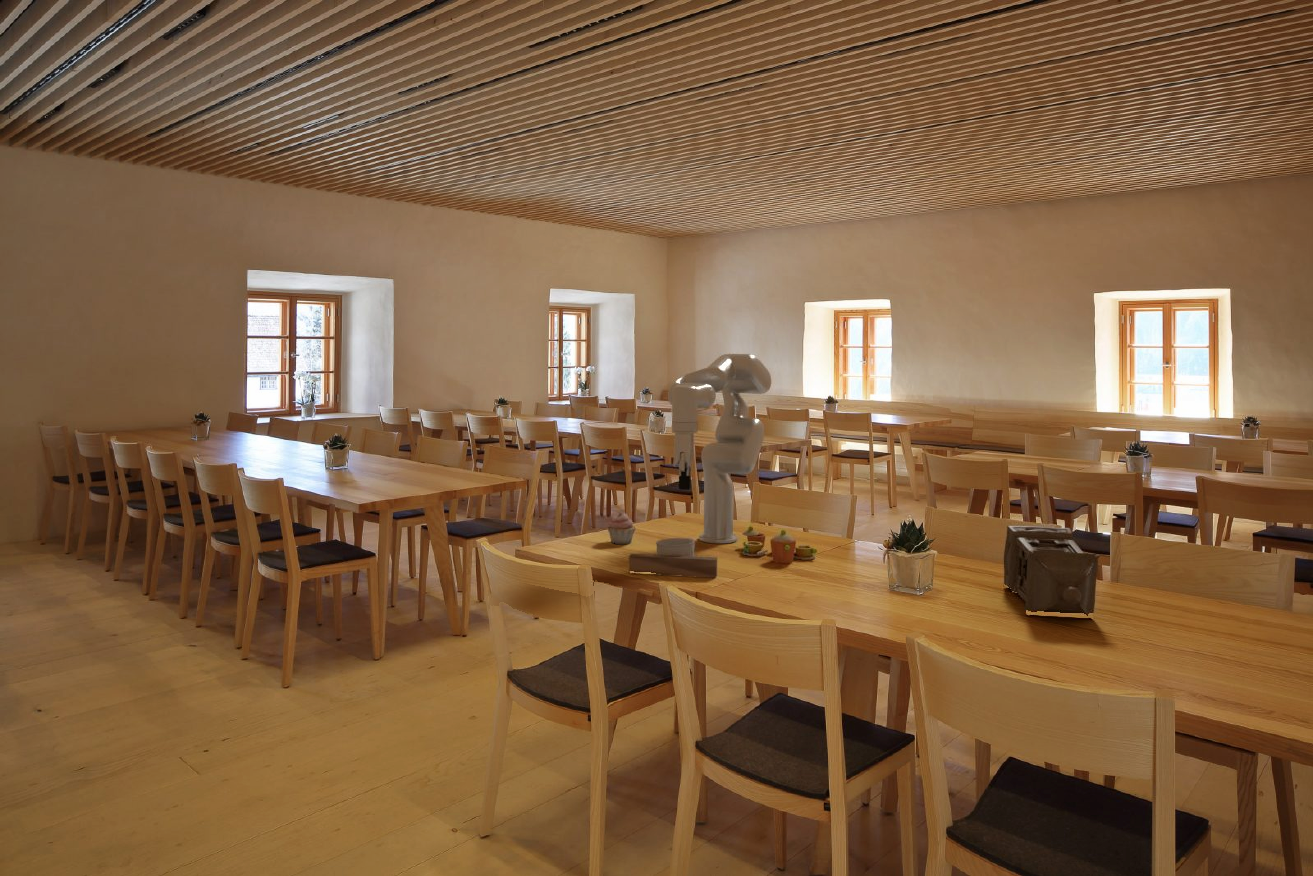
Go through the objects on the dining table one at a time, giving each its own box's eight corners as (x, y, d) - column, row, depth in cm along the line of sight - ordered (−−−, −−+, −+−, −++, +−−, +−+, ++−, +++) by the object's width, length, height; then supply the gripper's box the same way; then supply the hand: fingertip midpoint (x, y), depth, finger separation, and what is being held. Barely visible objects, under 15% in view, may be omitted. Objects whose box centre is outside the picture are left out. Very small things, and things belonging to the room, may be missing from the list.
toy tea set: (823, 559, 270) (823, 527, 269) (790, 568, 260) (791, 534, 259) (755, 544, 289) (756, 515, 288) (722, 552, 278) (723, 521, 277)
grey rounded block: (673, 575, 250) (673, 546, 249) (648, 567, 258) (648, 539, 257) (710, 567, 259) (710, 539, 258) (684, 560, 267) (684, 533, 266)
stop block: (631, 571, 254) (631, 553, 253) (717, 575, 250) (717, 557, 249) (629, 573, 251) (629, 556, 250) (715, 578, 247) (716, 559, 246)
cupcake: (602, 541, 292) (602, 510, 291) (628, 538, 296) (629, 508, 295) (613, 547, 283) (613, 515, 282) (640, 544, 287) (640, 513, 286)
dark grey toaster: (1106, 644, 202) (1123, 565, 200) (1023, 629, 205) (1039, 551, 202) (1065, 597, 237) (1080, 529, 234) (995, 585, 239) (1008, 517, 237)
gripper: (675, 424, 275) (675, 484, 277) (668, 430, 260) (668, 493, 263) (700, 425, 274) (700, 485, 276) (694, 430, 259) (694, 494, 261)
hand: (684, 489), depth 269 cm, fingers closed
